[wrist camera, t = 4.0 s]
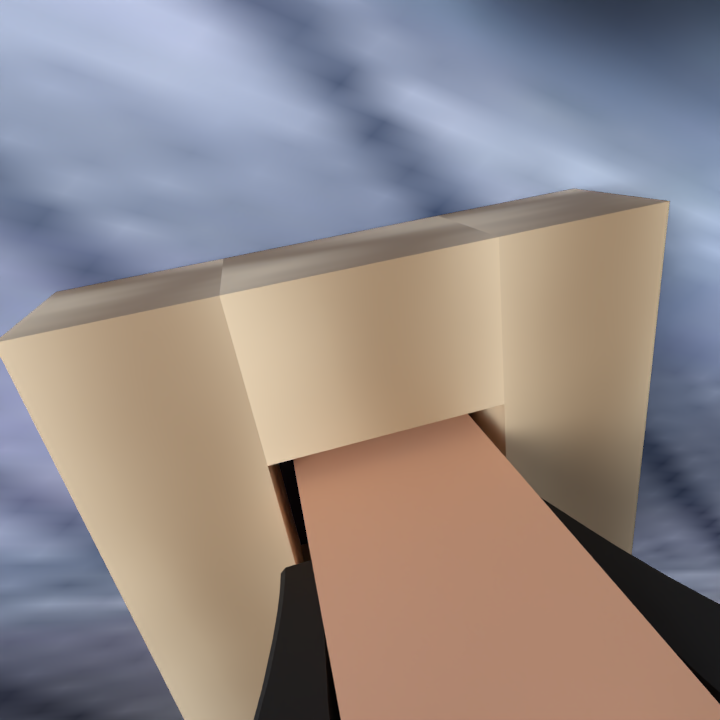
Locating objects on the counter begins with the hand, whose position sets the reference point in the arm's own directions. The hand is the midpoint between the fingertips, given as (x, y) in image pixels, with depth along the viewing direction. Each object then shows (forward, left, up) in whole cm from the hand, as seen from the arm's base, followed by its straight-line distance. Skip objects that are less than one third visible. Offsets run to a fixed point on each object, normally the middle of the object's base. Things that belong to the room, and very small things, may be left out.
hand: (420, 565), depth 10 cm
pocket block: (0, 0, -4) cm, 4 cm away
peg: (0, 0, -4) cm, 4 cm away
